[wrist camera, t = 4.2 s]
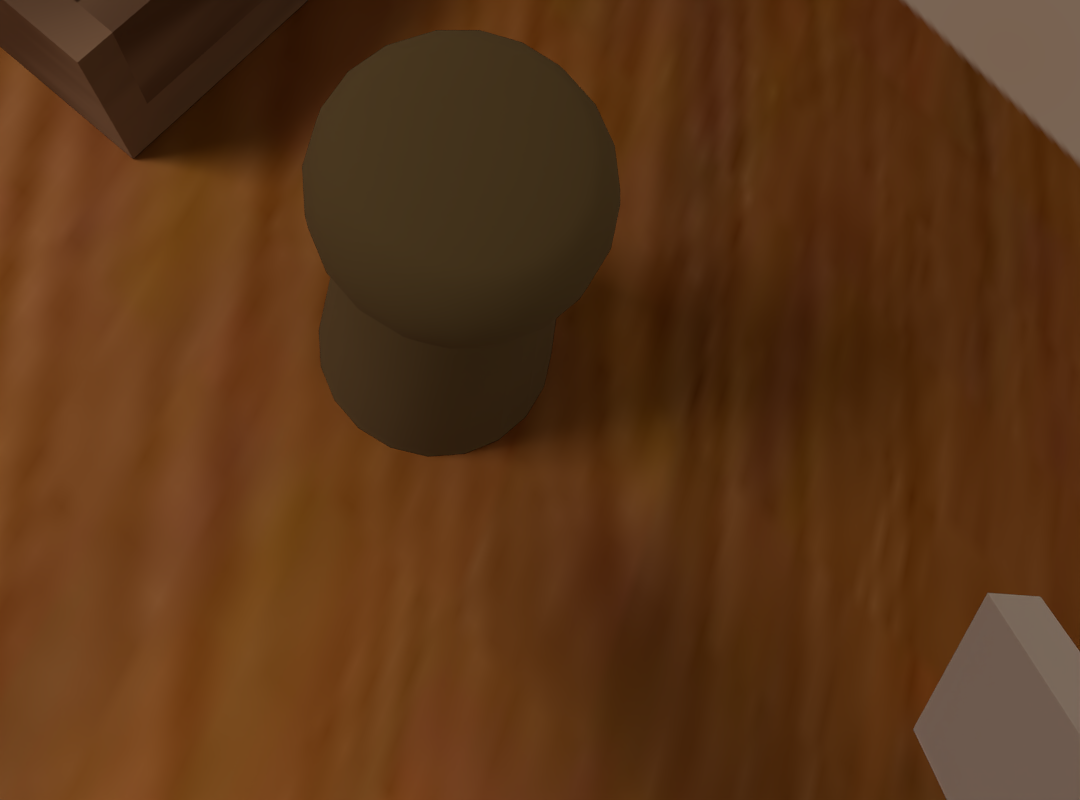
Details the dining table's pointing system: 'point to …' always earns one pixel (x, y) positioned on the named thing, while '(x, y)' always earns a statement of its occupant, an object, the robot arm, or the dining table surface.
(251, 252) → the dining table surface
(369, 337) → the cork
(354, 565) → the dining table surface
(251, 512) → the dining table surface
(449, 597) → the dining table surface
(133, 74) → the stand
